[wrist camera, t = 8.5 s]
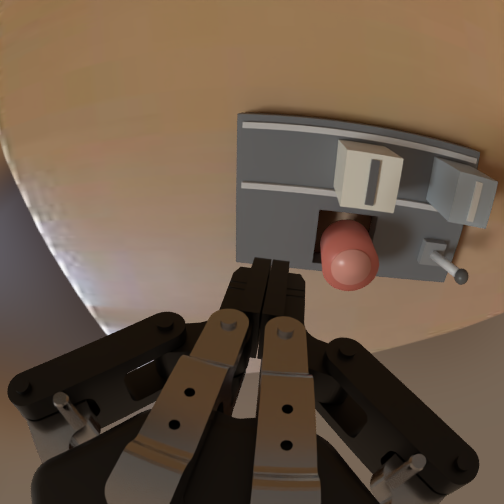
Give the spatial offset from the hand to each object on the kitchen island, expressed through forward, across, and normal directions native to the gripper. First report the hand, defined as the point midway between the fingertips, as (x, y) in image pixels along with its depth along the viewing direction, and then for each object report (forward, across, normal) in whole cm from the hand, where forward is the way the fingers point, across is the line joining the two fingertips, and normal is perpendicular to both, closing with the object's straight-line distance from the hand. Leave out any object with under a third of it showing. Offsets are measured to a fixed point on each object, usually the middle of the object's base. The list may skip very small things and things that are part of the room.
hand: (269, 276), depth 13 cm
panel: (+16, -7, +1) cm, 17 cm away
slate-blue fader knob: (+14, -15, -3) cm, 20 cm away
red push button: (+13, -6, +5) cm, 15 cm away
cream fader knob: (+14, -6, -2) cm, 15 cm away
